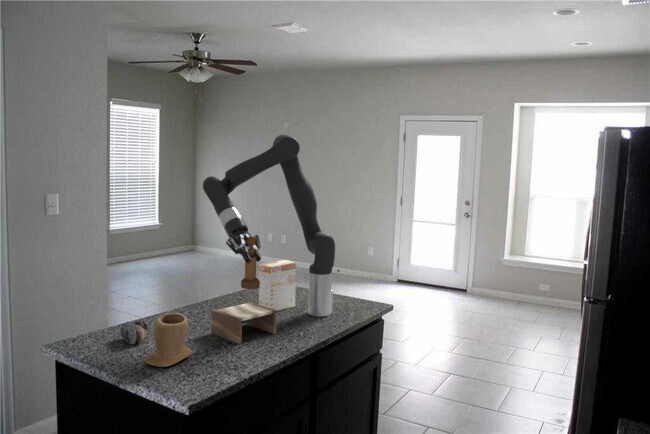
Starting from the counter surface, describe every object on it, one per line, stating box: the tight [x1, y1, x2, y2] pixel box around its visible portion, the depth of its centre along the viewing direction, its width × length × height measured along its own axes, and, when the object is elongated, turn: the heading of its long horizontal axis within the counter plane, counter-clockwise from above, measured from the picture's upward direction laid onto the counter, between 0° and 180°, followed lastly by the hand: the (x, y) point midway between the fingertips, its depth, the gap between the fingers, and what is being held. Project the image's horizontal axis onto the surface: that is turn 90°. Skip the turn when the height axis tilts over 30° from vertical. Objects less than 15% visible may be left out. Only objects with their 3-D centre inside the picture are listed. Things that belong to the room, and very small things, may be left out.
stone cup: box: [144, 312, 193, 368], centre depth 170 cm, size 15×12×15 cm
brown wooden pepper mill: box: [240, 237, 260, 290], centre depth 194 cm, size 7×6×18 cm
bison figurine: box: [120, 320, 149, 345], centre depth 188 cm, size 12×7×10 cm
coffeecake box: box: [258, 259, 297, 311], centre depth 232 cm, size 15×7×20 cm, turn 136°
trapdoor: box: [216, 302, 272, 325], centre depth 198 cm, size 14×14×6 cm
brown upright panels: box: [211, 301, 278, 345], centre depth 199 cm, size 17×16×8 cm
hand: (254, 260), depth 193 cm, fingers closed on brown wooden pepper mill, 4 cm apart
